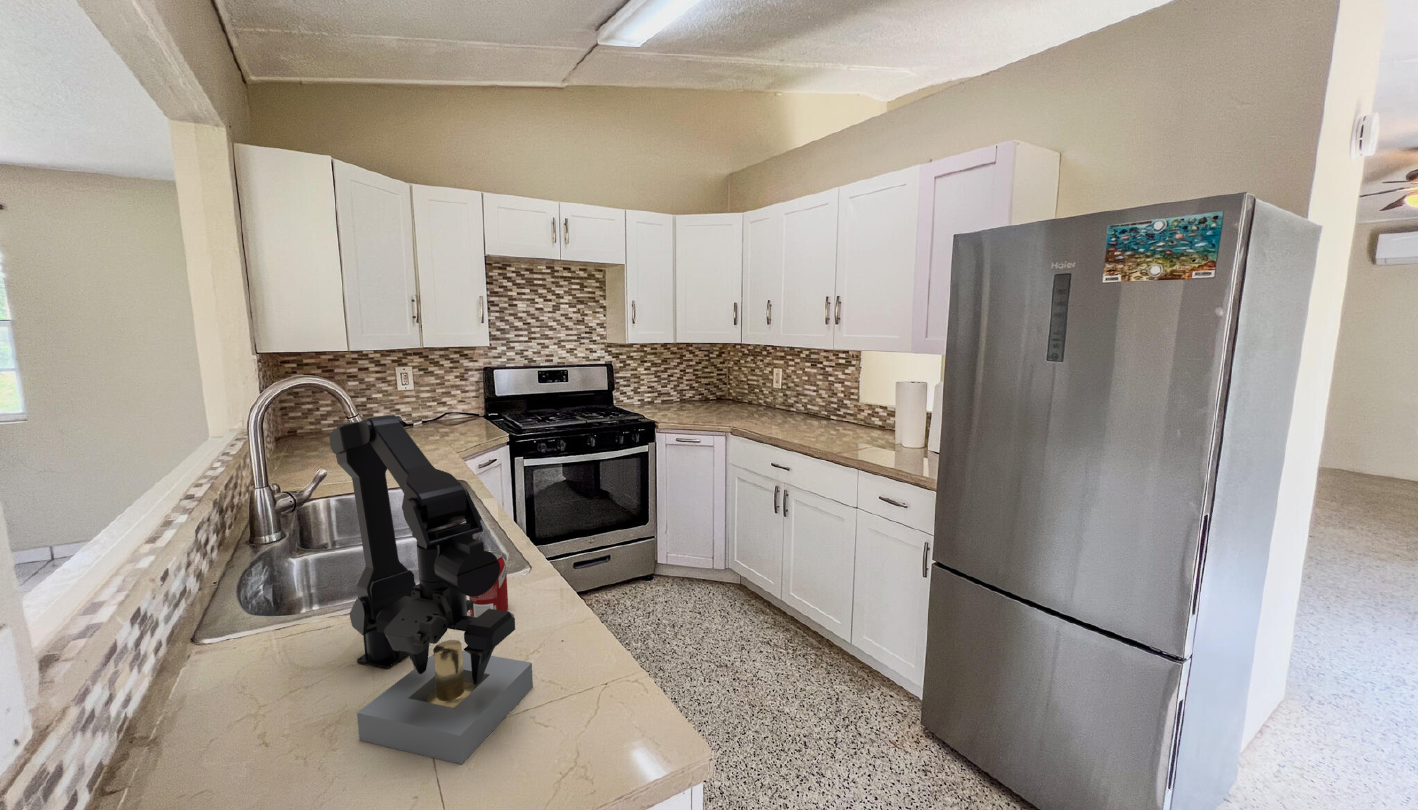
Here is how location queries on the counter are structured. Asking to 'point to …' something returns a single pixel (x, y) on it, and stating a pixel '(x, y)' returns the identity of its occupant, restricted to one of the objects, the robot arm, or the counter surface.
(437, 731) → the housing
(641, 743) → the counter surface
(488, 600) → the soda can
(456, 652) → the stepped shaft
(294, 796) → the counter surface
